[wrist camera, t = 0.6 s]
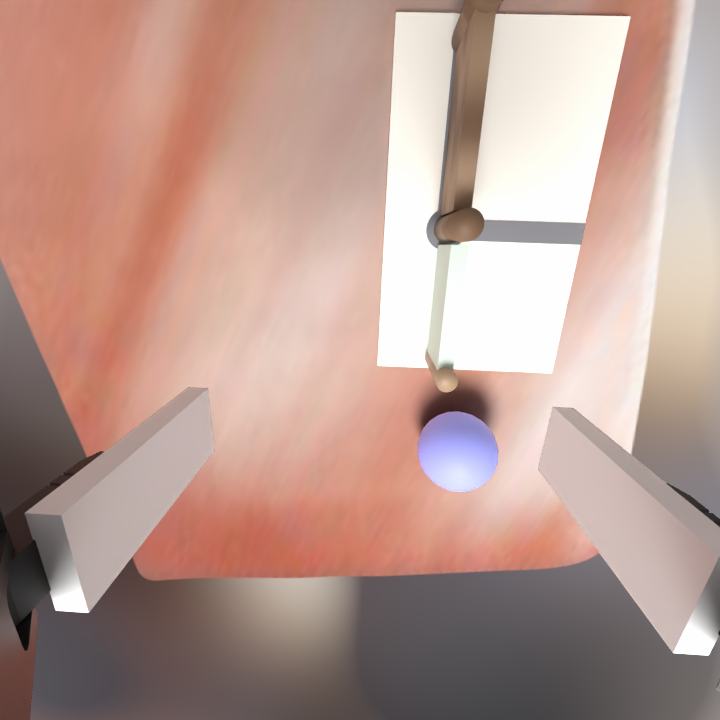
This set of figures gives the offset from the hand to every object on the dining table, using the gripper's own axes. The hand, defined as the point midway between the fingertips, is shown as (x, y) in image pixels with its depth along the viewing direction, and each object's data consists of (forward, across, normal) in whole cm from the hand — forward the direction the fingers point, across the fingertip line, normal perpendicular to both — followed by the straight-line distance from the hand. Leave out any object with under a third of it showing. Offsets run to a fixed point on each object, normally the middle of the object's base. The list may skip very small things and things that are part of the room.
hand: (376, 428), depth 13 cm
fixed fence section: (+19, +5, +14) cm, 24 cm away
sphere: (+19, +8, -10) cm, 23 cm away
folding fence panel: (+18, +5, +2) cm, 19 cm away
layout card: (+19, +8, +9) cm, 23 cm away
